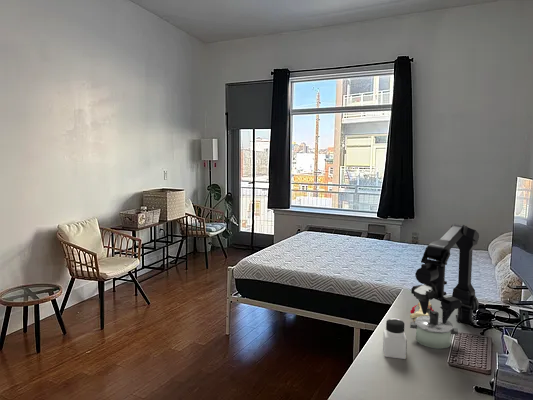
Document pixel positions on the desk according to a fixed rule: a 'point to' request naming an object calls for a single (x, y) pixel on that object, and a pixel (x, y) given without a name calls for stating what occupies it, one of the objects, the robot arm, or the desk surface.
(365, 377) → the desk surface
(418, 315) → the cat figure
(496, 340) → the desk surface
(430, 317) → the lid
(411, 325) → the pot
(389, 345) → the medicine bottle
